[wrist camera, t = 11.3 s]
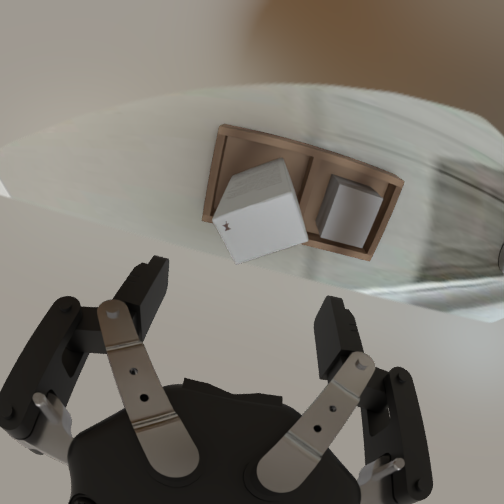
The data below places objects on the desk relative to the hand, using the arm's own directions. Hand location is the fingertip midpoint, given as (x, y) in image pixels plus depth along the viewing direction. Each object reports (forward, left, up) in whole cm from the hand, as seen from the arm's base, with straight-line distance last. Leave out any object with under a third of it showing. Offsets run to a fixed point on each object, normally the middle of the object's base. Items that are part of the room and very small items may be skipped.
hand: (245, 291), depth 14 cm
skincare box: (0, 0, -19) cm, 19 cm away
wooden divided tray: (-5, 0, -20) cm, 20 cm away
